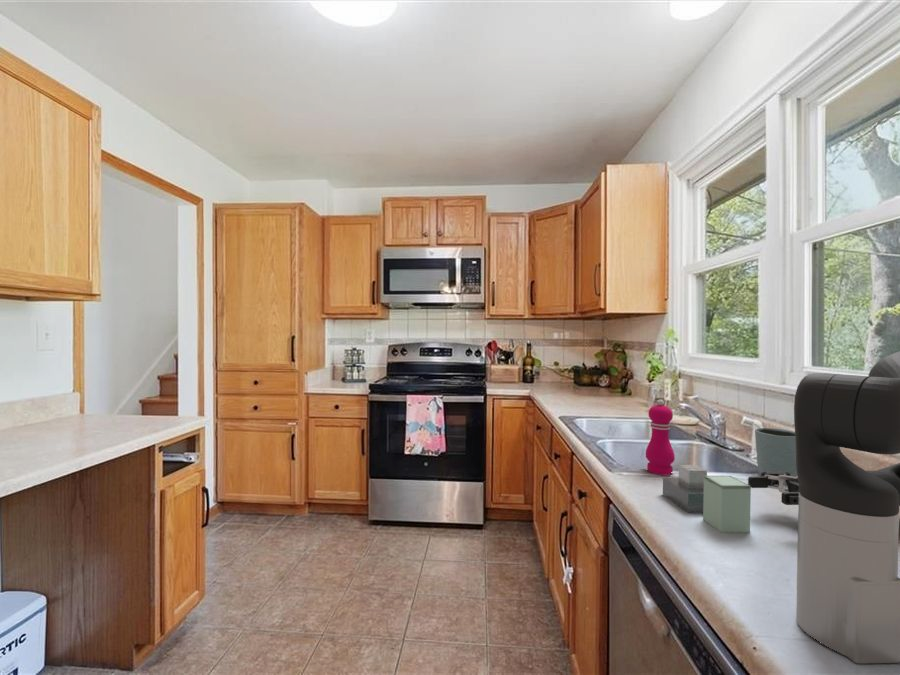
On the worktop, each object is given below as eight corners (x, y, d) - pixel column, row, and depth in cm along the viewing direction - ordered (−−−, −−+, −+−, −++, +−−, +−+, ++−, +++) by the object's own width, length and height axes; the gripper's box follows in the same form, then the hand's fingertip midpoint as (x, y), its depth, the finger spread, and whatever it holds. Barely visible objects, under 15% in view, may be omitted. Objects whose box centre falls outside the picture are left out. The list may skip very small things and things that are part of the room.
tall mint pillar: (749, 532, 80) (750, 485, 80) (721, 532, 80) (722, 485, 80) (729, 519, 86) (730, 475, 86) (703, 519, 86) (703, 475, 86)
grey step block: (724, 512, 89) (725, 475, 89) (688, 512, 89) (688, 475, 89) (695, 494, 99) (696, 460, 99) (662, 494, 99) (663, 460, 99)
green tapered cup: (779, 484, 106) (780, 437, 106) (744, 471, 116) (745, 428, 116) (811, 481, 108) (812, 435, 108) (774, 468, 118) (775, 426, 118)
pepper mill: (680, 474, 113) (681, 400, 113) (661, 477, 111) (662, 402, 110) (658, 466, 120) (659, 396, 120) (639, 469, 117) (640, 398, 117)
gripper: (812, 459, 91) (739, 460, 91) (881, 483, 77) (796, 484, 76) (811, 493, 91) (739, 494, 91) (880, 523, 77) (795, 525, 76)
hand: (765, 490), depth 83 cm, fingers open, 8 cm apart
